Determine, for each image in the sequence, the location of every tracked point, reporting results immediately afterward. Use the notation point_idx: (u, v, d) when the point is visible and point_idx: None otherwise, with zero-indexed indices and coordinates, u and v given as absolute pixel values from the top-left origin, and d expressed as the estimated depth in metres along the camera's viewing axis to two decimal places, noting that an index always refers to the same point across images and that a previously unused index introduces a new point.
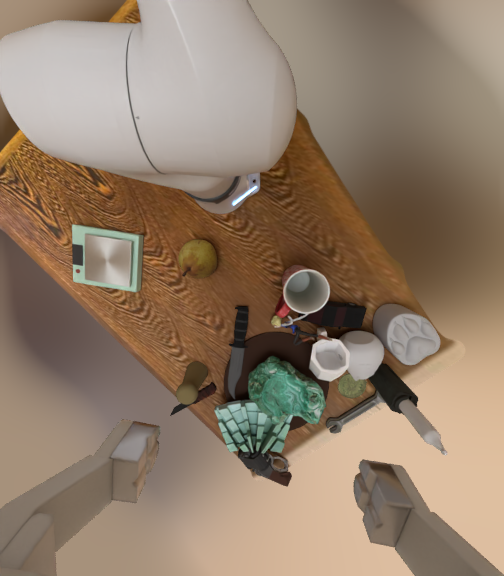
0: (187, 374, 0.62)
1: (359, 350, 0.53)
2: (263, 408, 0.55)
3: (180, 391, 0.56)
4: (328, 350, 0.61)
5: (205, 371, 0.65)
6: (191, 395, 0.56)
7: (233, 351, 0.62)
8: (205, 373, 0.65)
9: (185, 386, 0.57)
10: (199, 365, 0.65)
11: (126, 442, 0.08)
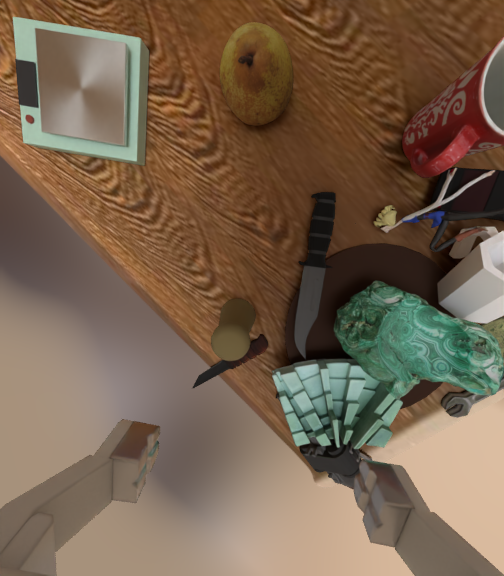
0: (226, 314, 0.36)
1: None
2: (379, 367, 0.29)
3: (221, 336, 0.30)
4: None
5: (253, 313, 0.39)
6: (241, 342, 0.30)
7: (306, 275, 0.36)
8: (253, 316, 0.39)
9: (229, 326, 0.31)
10: (242, 302, 0.39)
11: (126, 442, 0.08)
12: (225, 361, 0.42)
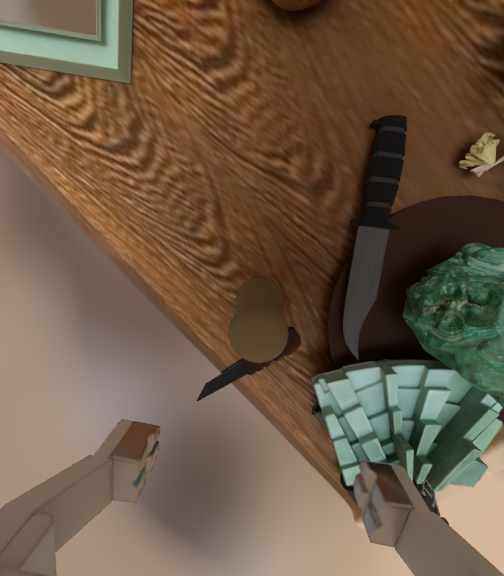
0: (247, 295, 0.25)
1: None
2: (500, 372, 0.18)
3: (246, 323, 0.19)
4: None
5: (282, 297, 0.28)
6: (278, 333, 0.19)
7: (361, 239, 0.25)
8: (282, 301, 0.28)
9: (258, 308, 0.20)
10: (268, 282, 0.28)
11: (126, 442, 0.08)
12: (241, 364, 0.31)
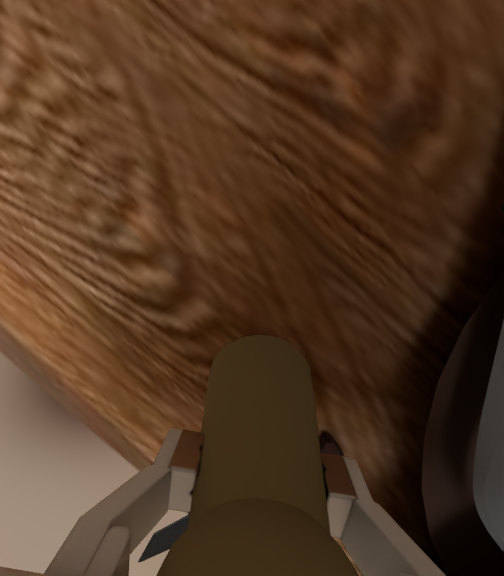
0: (227, 409, 0.09)
1: None
2: None
3: None
4: None
5: (311, 384, 0.12)
6: None
7: None
8: (313, 395, 0.12)
9: None
10: (279, 350, 0.12)
11: (181, 451, 0.08)
12: None
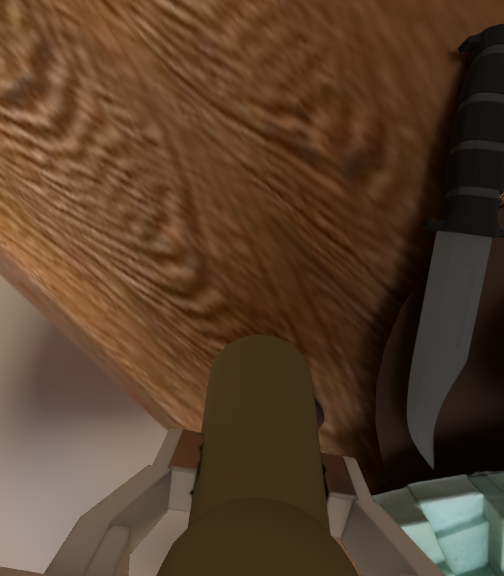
0: (227, 409, 0.09)
1: None
2: None
3: None
4: None
5: (311, 384, 0.12)
6: None
7: (442, 255, 0.14)
8: (313, 395, 0.12)
9: None
10: (279, 350, 0.12)
11: (181, 451, 0.08)
12: None
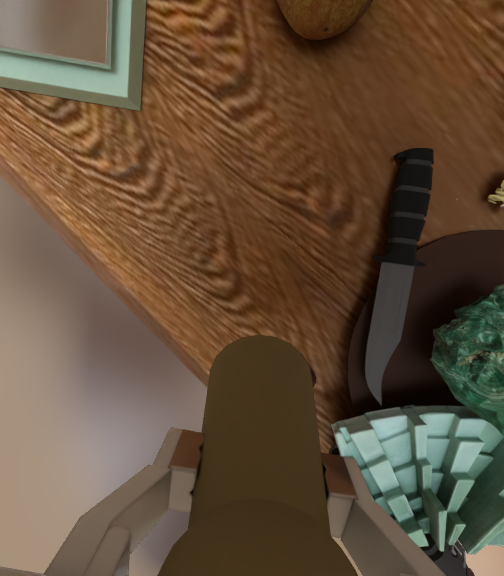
0: (228, 410, 0.09)
1: None
2: None
3: None
4: None
5: (311, 384, 0.12)
6: None
7: (384, 276, 0.23)
8: (313, 395, 0.12)
9: None
10: (279, 351, 0.12)
11: (181, 451, 0.08)
12: None
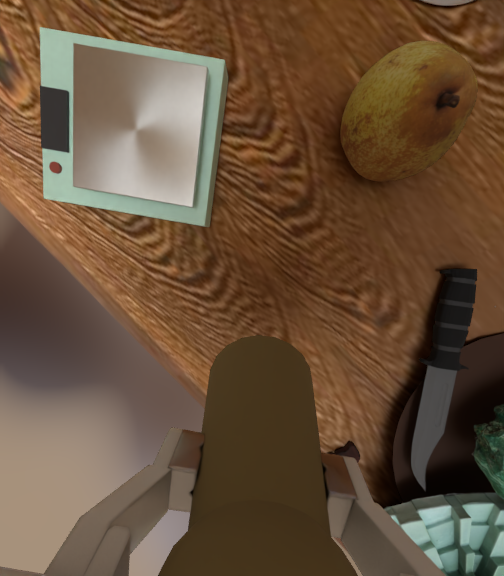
0: (228, 410, 0.09)
1: None
2: None
3: None
4: None
5: (311, 385, 0.12)
6: None
7: (430, 377, 0.26)
8: (313, 396, 0.12)
9: None
10: (279, 351, 0.12)
11: (181, 451, 0.08)
12: None
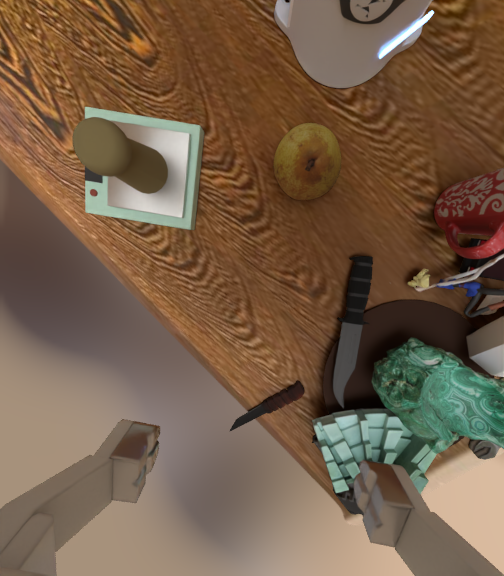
0: None
1: None
2: (422, 427, 0.31)
3: (80, 125, 0.22)
4: None
5: (160, 160, 0.32)
6: (109, 135, 0.22)
7: (344, 330, 0.38)
8: (160, 163, 0.31)
9: (95, 117, 0.23)
10: None
11: (126, 442, 0.08)
12: (262, 406, 0.44)
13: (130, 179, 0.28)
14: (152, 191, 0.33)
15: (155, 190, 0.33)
